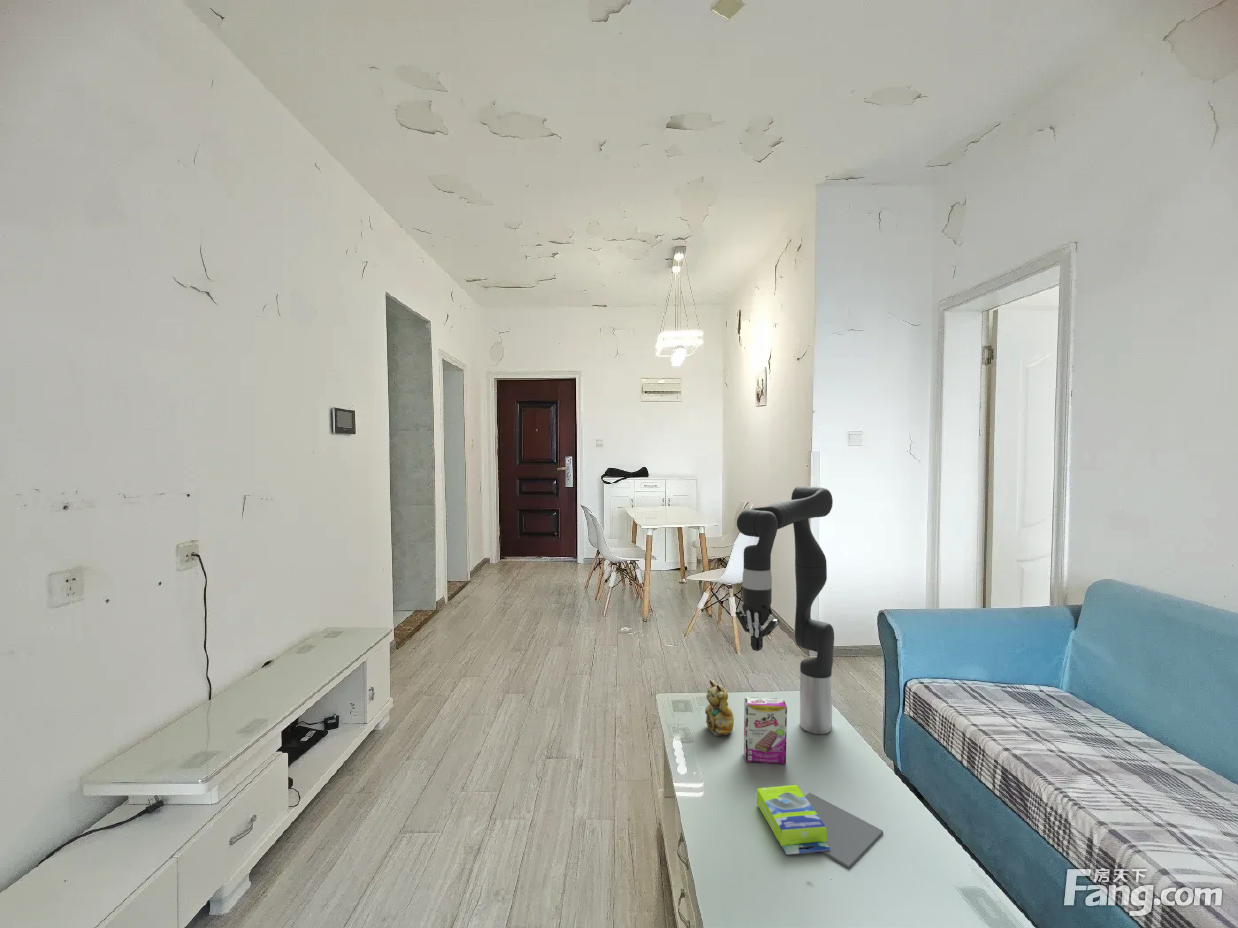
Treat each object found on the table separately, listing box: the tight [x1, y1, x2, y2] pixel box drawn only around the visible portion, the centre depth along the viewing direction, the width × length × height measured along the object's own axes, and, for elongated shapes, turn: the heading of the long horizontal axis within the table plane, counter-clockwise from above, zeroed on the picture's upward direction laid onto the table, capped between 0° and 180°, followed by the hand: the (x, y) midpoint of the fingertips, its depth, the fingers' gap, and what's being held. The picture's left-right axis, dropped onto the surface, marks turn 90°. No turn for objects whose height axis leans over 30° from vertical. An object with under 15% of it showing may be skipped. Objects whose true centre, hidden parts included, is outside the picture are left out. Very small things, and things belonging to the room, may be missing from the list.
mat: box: [804, 792, 884, 869], centre depth 123 cm, size 16×18×1 cm
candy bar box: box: [743, 696, 788, 765], centre depth 151 cm, size 11×5×16 cm, turn 84°
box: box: [756, 784, 830, 856], centre depth 123 cm, size 10×4×17 cm
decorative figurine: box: [704, 679, 735, 737], centre depth 166 cm, size 10×8×15 cm
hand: (756, 649), depth 144 cm, fingers closed
